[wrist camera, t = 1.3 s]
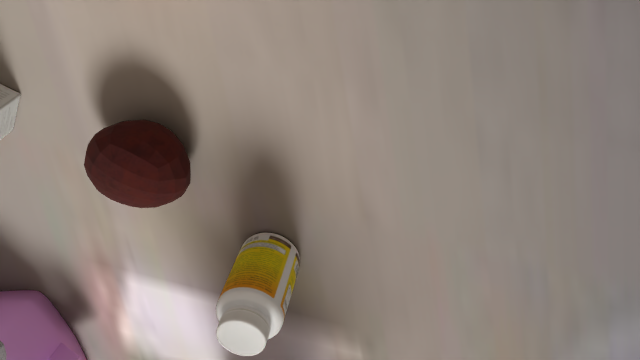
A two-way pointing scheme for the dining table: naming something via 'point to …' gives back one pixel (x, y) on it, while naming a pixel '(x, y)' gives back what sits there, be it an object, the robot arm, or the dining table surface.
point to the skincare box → (7, 109)
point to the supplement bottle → (257, 293)
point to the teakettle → (35, 328)
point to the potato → (138, 164)
